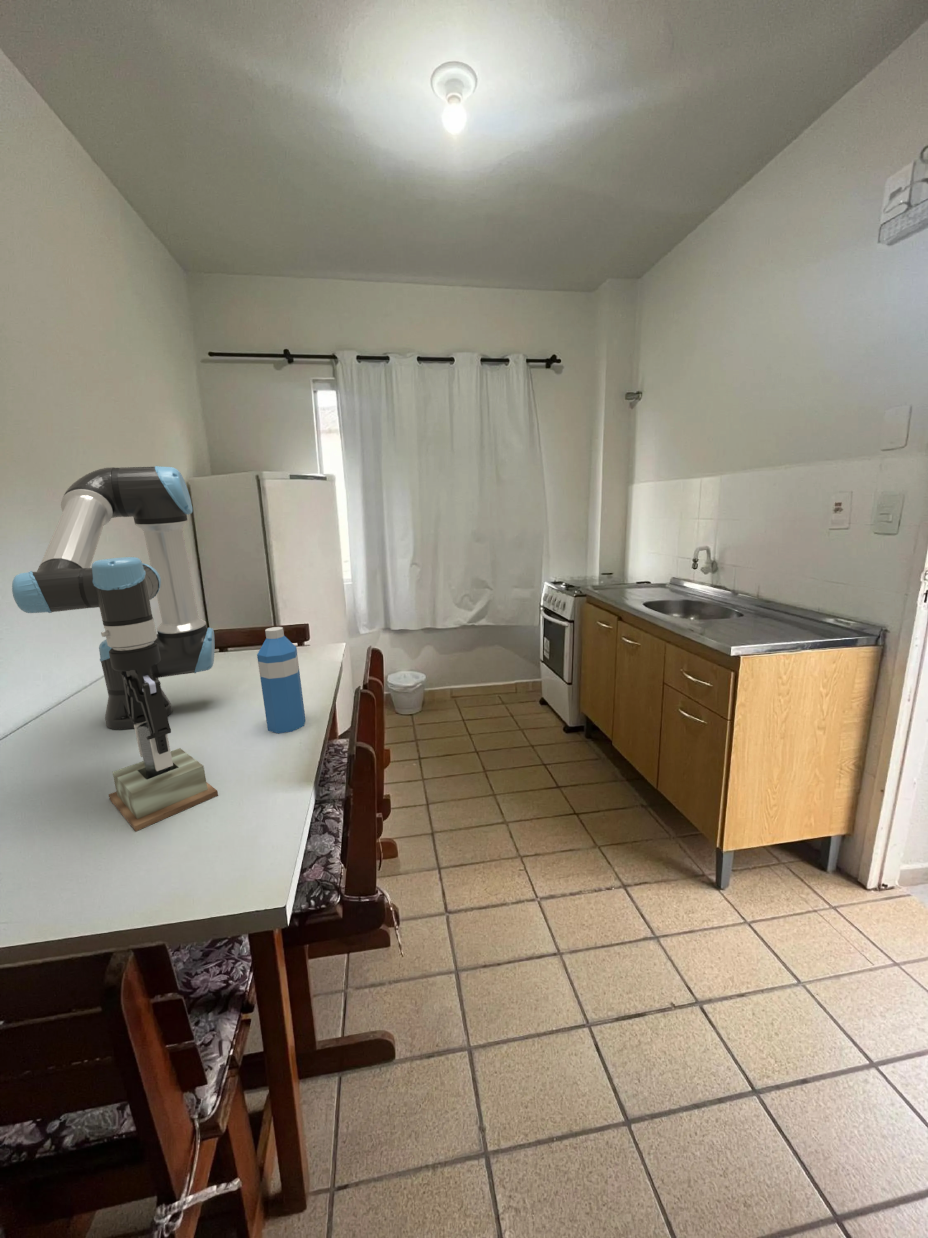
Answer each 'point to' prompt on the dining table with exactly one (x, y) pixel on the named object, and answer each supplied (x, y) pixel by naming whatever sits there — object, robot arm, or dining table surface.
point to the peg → (148, 752)
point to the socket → (160, 790)
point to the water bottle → (281, 682)
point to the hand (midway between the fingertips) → (156, 760)
